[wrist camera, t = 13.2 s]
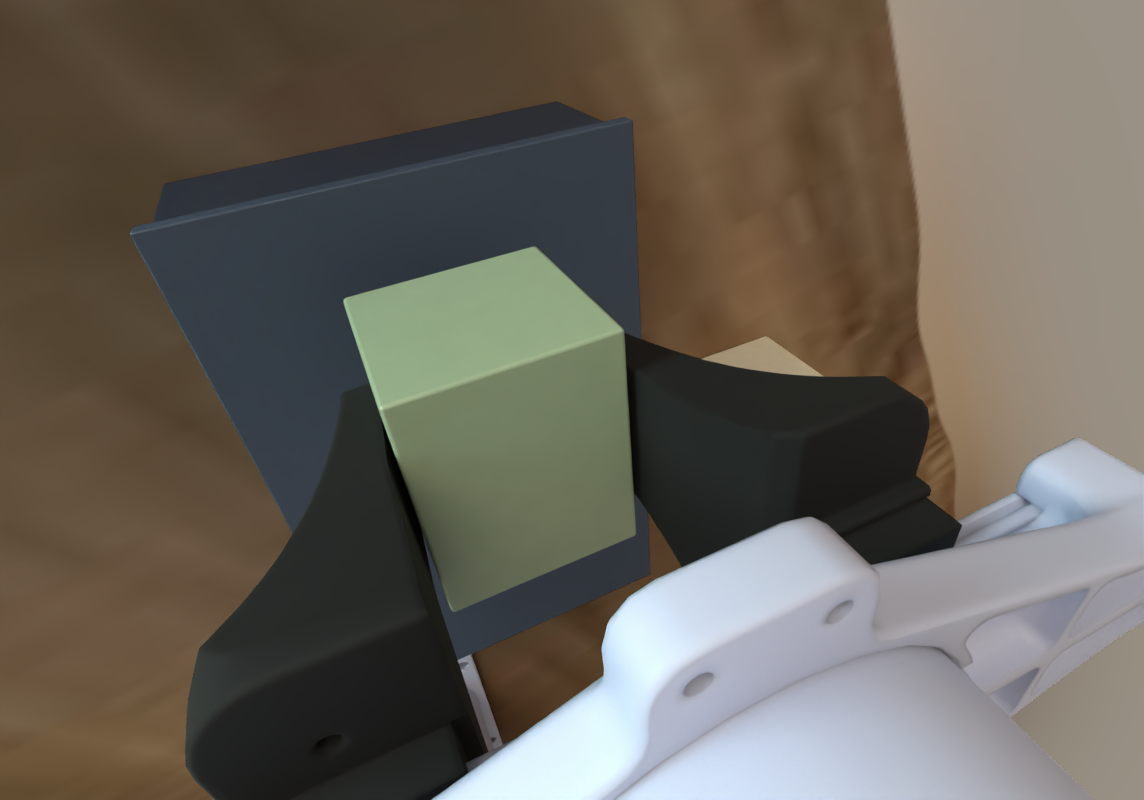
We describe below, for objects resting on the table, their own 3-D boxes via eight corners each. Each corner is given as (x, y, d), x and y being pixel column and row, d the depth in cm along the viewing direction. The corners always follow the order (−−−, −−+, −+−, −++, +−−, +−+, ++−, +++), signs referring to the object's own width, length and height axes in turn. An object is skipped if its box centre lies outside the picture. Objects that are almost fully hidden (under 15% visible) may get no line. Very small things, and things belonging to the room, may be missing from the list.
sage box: (562, 429, 16) (637, 536, 13) (408, 484, 15) (452, 615, 12) (535, 244, 13) (625, 328, 10) (341, 297, 12) (377, 408, 9)
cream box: (758, 411, 28) (821, 465, 25) (680, 442, 27) (737, 502, 24) (766, 334, 26) (837, 384, 23) (681, 364, 25) (743, 421, 22)
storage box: (604, 506, 27) (650, 574, 24) (362, 604, 24) (380, 695, 21) (563, 91, 17) (633, 119, 14) (149, 176, 15) (128, 233, 12)
